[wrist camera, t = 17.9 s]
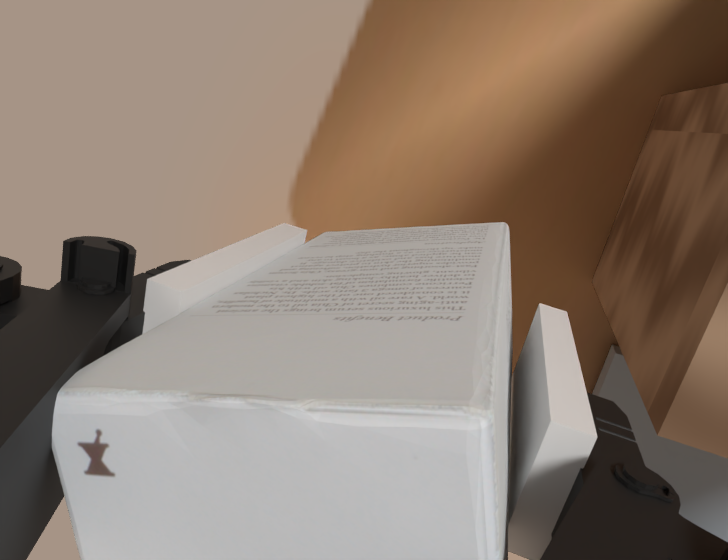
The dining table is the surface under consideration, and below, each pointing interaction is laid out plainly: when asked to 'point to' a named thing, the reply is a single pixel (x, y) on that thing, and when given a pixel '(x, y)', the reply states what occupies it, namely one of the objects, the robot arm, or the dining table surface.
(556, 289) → the dining table surface
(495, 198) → the dining table surface
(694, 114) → the walnut shelf
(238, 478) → the skincare box
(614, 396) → the pull-out tray
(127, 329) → the robot arm
